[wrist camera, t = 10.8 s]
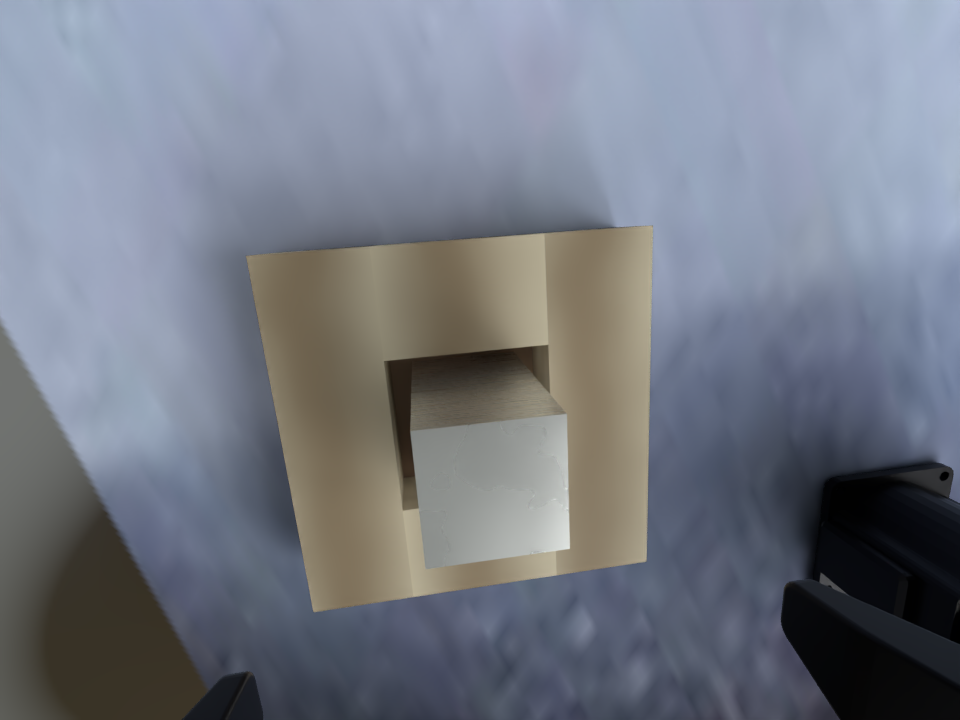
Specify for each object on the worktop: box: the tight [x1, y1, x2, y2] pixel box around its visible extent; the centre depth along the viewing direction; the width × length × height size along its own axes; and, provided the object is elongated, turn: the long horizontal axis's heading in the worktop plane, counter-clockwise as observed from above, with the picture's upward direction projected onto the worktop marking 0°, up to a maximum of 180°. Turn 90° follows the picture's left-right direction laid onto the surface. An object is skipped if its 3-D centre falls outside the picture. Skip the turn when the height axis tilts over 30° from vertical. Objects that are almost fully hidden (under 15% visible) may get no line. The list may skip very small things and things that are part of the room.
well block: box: [246, 226, 653, 612], centre depth 18 cm, size 13×13×3 cm
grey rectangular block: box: [410, 352, 570, 569], centre depth 16 cm, size 4×4×7 cm
